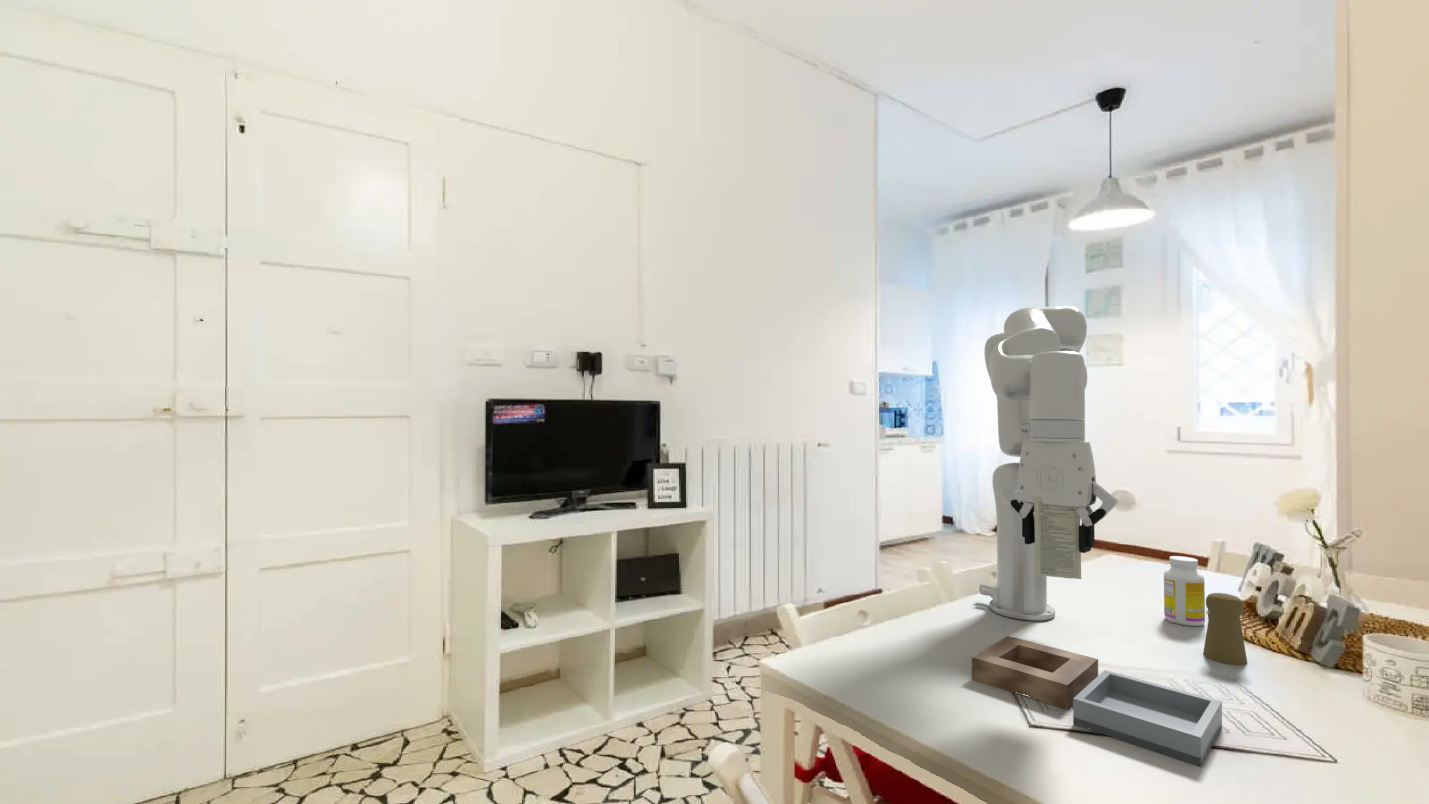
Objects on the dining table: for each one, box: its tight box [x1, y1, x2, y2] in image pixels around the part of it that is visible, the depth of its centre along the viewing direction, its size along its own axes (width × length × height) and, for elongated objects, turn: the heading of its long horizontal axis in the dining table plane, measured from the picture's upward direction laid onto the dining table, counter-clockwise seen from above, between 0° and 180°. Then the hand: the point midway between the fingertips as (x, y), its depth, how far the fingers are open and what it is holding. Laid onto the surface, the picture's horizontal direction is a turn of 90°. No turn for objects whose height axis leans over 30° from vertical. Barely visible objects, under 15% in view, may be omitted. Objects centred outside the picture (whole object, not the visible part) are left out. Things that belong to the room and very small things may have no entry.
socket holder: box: [971, 635, 1099, 711], centre depth 100 cm, size 14×14×4 cm
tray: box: [1072, 669, 1223, 767], centre depth 86 cm, size 14×14×4 cm
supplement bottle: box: [1163, 555, 1206, 627], centre depth 129 cm, size 7×7×13 cm
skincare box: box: [1034, 497, 1082, 580], centre depth 97 cm, size 6×4×12 cm
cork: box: [1202, 592, 1248, 666], centre depth 110 cm, size 6×6×11 cm
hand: (1057, 546), depth 97 cm, fingers closed on skincare box, 7 cm apart
